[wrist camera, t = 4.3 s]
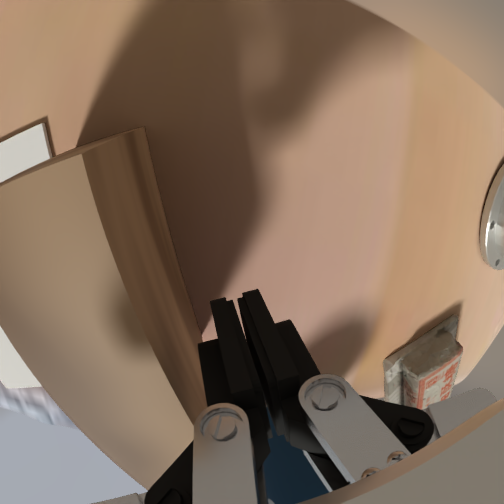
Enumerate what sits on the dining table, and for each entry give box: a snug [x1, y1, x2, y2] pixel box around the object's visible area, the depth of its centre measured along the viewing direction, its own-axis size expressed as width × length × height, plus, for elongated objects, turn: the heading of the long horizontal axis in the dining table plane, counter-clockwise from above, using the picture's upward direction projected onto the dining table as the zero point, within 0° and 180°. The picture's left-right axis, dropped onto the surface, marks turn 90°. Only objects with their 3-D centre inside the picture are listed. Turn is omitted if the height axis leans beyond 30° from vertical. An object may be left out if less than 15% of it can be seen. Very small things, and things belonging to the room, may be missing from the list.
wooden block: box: [0, 126, 207, 490], centre depth 13 cm, size 4×14×11 cm, turn 10°
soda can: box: [263, 405, 329, 504], centre depth 22 cm, size 7×7×12 cm
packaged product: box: [383, 315, 463, 410], centre depth 30 cm, size 18×5×10 cm
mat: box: [0, 123, 52, 389], centre depth 16 cm, size 14×18×1 cm
